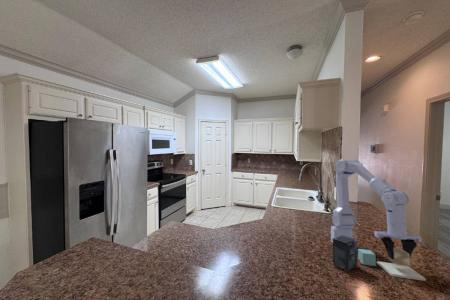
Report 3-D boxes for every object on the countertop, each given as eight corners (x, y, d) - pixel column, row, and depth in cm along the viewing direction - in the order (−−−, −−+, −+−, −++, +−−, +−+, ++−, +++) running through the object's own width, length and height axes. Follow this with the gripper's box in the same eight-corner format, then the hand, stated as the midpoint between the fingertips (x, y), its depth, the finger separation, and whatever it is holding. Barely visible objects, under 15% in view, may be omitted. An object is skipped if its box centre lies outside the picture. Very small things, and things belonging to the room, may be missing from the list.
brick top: (363, 264, 78) (362, 253, 78) (358, 259, 82) (357, 248, 83) (375, 266, 77) (375, 254, 77) (370, 261, 81) (369, 250, 81)
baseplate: (392, 276, 69) (391, 274, 69) (377, 263, 79) (377, 261, 79) (425, 280, 67) (425, 278, 67) (406, 266, 77) (406, 264, 77)
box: (348, 272, 71) (347, 242, 73) (332, 265, 76) (332, 238, 77) (357, 266, 76) (356, 239, 77) (342, 260, 80) (341, 234, 82)
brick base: (395, 264, 72) (395, 252, 72) (388, 259, 76) (388, 247, 76) (410, 266, 70) (409, 253, 71) (402, 260, 75) (401, 248, 75)
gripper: (380, 223, 73) (382, 260, 71) (427, 226, 69) (430, 266, 68) (371, 218, 79) (372, 253, 78) (413, 221, 76) (415, 257, 75)
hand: (398, 258), depth 73 cm, fingers closed on brick base, 4 cm apart
